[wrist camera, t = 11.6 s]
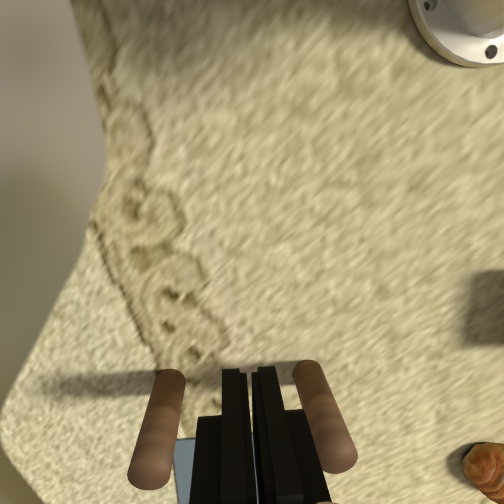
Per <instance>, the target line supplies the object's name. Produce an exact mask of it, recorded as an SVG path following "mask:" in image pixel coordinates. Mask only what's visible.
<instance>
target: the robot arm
mask: <svg viewBox="0 0 504 504" xmlns="http://www.w3.org/2000/svg"><path fill="white" fill-rule="evenodd" d="M408 1H409V6H410V11H411V14H412V16H413V18H414V21H415V23H416V26H417V28H418V30H419V32H420V33H421V35H422V36H423V38H424V39H425V41H426V42H427V43H428V44H429V45H430V46H431V47H432V48H433V49H434V50H435V51H436V52H437V53H438V54H439V55H440V56H442V57H444V58H446V59H447V60H449V61H451V62H452V63H456V64H459V65H462V66H466V67H476V68H485V67H491V66H497V65H501V64H504V0H408ZM424 5H425V7H426V9H425V8H424ZM251 377H252V419H253V443H252V431H251V420H250V409H249V398H248V387H247V375H246V373H240V372H239V368H236V369H222V415H217V416H203V417H198V421H197V429H196V439H195V449H194V459H193V468H192V478H191V488H190V498H189V504H257V491H258V502H259V504H337V503H333V502H332V501H331V498H330V494H329V491H328V487H327V484H326V481H325V477H324V474H323V471H322V467H321V464H320V460H319V457H318V454H317V450H316V447H315V443H314V440H313V437H312V433H311V430H310V427H309V423H308V420H307V416H306V414H305V411H304V409H296V410H285V409H284V404H283V400H282V395H281V391H280V386H279V382H278V377H277V373H276V368H275V366H266V367H258V372H252V373H251ZM253 447H254V454H253ZM254 458H255V465H254ZM255 469H256V476H255ZM256 480H257V488H256Z"/></svg>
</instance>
